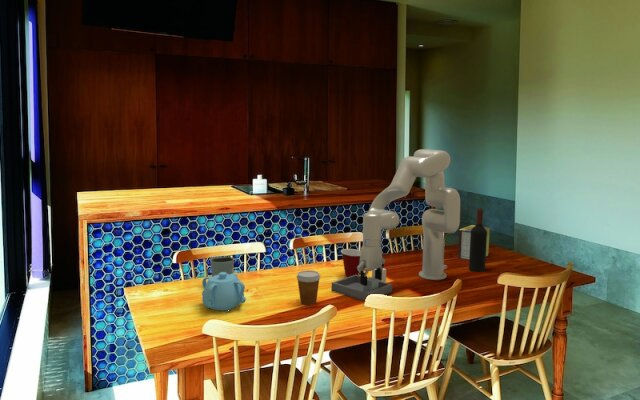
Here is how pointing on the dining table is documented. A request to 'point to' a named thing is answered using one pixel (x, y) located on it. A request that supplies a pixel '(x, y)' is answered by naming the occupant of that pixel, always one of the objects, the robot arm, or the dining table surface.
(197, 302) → the dining table surface
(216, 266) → the drinking glass
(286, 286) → the dining table surface
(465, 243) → the protein box
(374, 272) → the cream block
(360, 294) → the tray
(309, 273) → the disposable coffee cup
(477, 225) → the wine bottle
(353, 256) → the plastic cup
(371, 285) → the blue block
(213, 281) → the decorative pot
